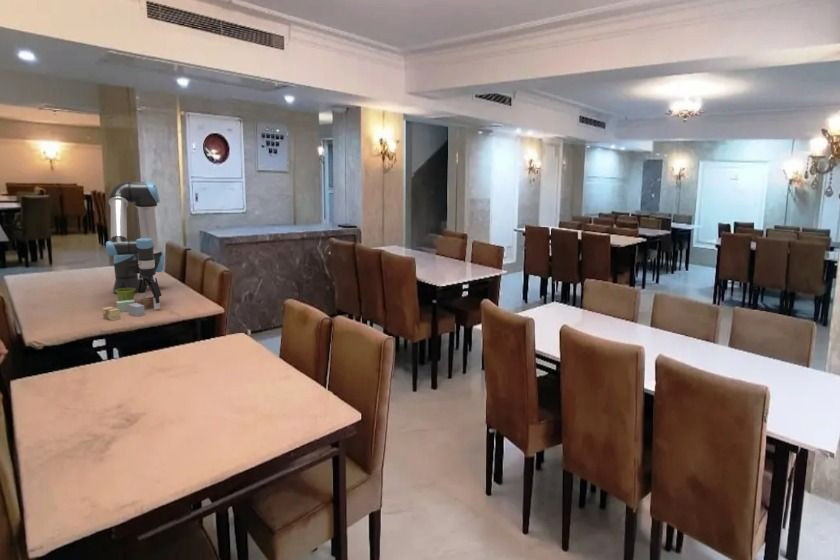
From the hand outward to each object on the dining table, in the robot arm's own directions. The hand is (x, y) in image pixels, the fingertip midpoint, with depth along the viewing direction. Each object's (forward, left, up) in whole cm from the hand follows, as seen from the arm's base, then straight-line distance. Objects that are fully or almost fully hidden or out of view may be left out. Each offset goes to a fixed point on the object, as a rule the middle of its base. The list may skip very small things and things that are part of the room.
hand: (150, 306), depth 270 cm
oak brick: (+6, -22, 0) cm, 23 cm away
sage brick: (-3, -11, 0) cm, 11 cm away
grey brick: (+8, -11, 0) cm, 13 cm away
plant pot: (-13, -6, 0) cm, 14 cm away
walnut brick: (0, 0, 0) cm, 0 cm away
